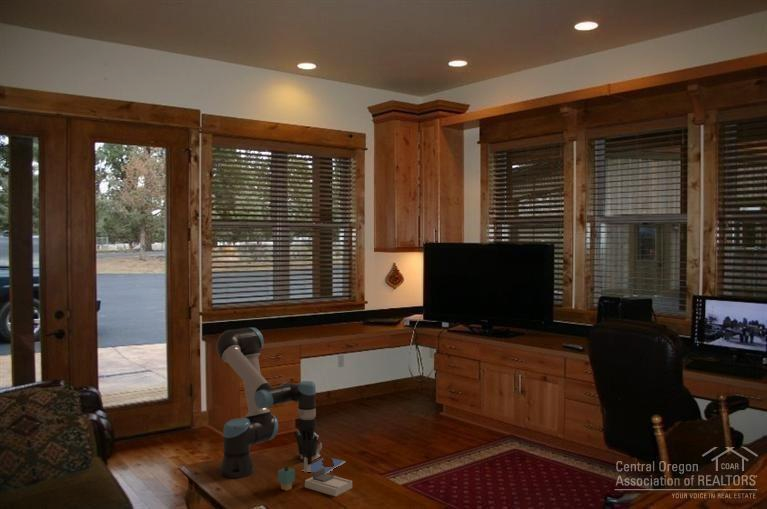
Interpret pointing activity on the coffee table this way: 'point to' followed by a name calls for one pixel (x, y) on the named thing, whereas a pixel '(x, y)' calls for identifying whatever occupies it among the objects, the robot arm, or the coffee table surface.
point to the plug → (286, 477)
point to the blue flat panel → (319, 465)
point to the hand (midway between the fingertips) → (307, 471)
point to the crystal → (316, 452)
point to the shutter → (321, 475)
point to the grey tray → (329, 485)
